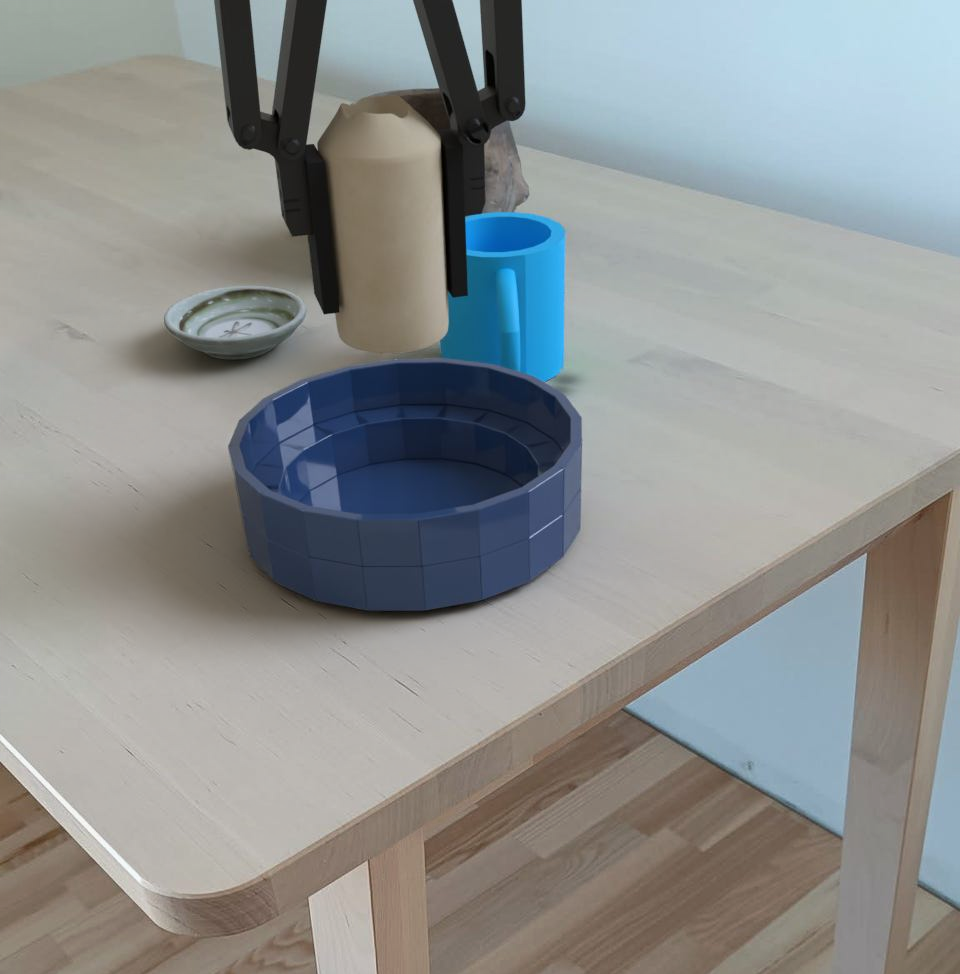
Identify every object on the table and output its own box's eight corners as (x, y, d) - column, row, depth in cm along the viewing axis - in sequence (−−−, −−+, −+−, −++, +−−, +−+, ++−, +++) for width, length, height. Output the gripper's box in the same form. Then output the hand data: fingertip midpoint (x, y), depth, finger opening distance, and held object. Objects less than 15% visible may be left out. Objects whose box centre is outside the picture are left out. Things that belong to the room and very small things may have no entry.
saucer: (287, 377, 84) (281, 341, 82) (149, 371, 86) (141, 335, 84) (326, 320, 91) (321, 285, 89) (198, 315, 92) (191, 281, 91)
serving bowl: (228, 476, 75) (211, 385, 71) (525, 429, 78) (524, 339, 74) (273, 647, 62) (255, 546, 58) (627, 583, 65) (632, 484, 61)
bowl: (384, 296, 94) (371, 147, 87) (316, 234, 104) (300, 95, 97) (553, 262, 98) (554, 116, 91) (472, 205, 108) (467, 70, 101)
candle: (437, 357, 60) (425, 122, 53) (324, 352, 61) (298, 119, 54) (458, 312, 64) (450, 86, 57) (352, 307, 65) (331, 84, 58)
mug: (439, 342, 87) (432, 215, 82) (557, 335, 88) (558, 208, 82) (446, 420, 79) (438, 284, 73) (577, 412, 79) (579, 276, 73)
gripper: (78, -364, 41) (206, 351, 57) (624, -385, 44) (598, 299, 60) (70, -365, 46) (189, 290, 62) (559, -384, 49) (551, 245, 65)
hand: (390, 293), depth 61 cm, fingers closed on candle, 5 cm apart
